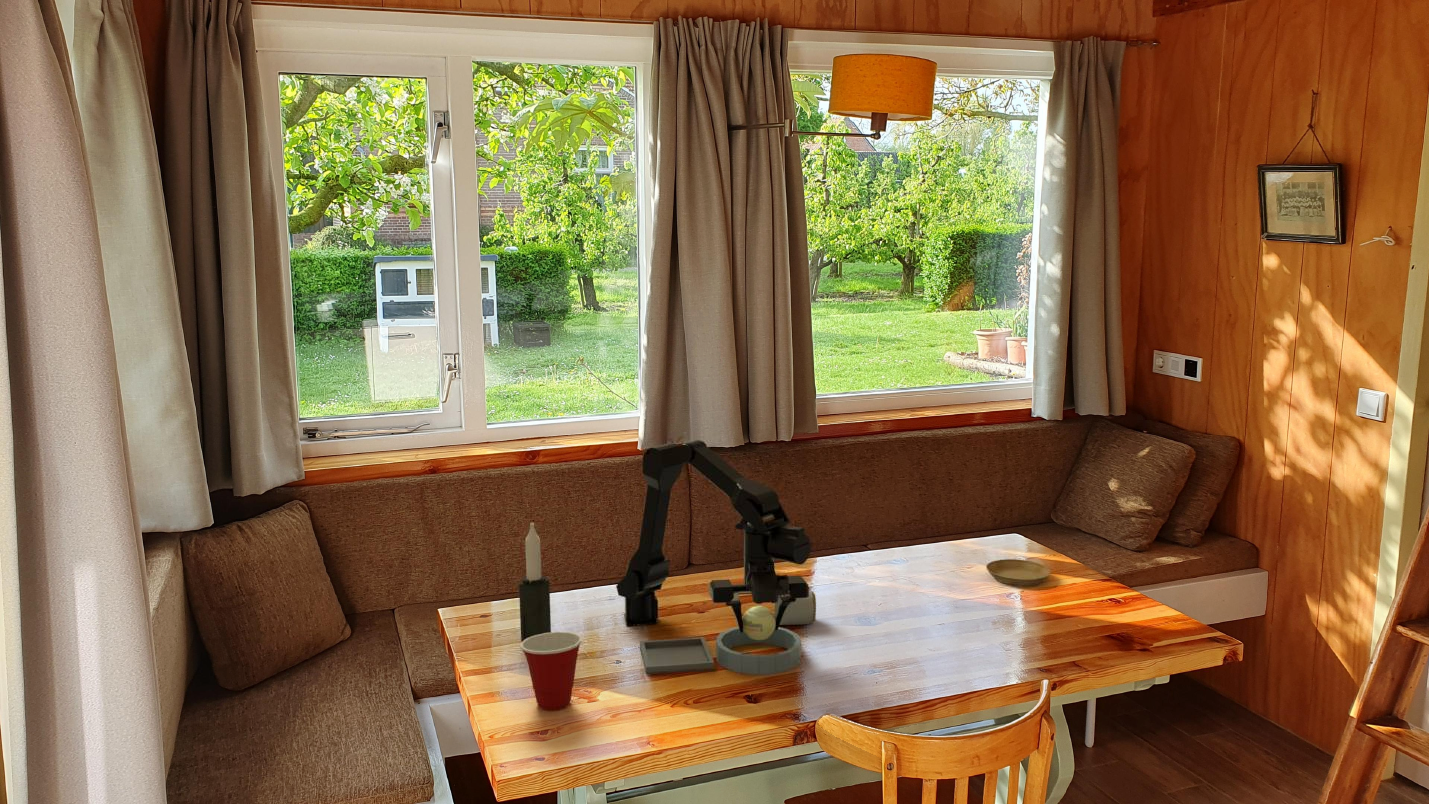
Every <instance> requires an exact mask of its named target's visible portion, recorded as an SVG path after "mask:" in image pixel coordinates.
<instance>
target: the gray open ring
mask: <svg viewBox="0 0 1429 804" xmlns="http://www.w3.org/2000/svg"><path fill="white" fill-rule="evenodd" d="M746 644H747V645H748V644H769V645H775V646H778V647H782V648H785V649H787V650H785V651H780V652H777V653H776V652H775V653H770V654H769V653H768V654H752V653H751V654H750V653H742V652H738V651H735V650H732V649H731V648H733V647H738V646H742V645H746ZM715 658H716V660H717V663H718V664H719V665H720V666H722V667H724V668H725V669H726V670H729V671H733V672H735V673H736V672H737V673H739V674H748V675H756V676H761V675H764V676H765V675H775V674H780V673H783V672H787V671H791V670H792V669H793V668H795V667H797V666H799V664H800V662H801V659H802V639H801V637H800V635H799V634H797V633H796V632H794V631H792V630H790V629H788V628H785V627H780V626H779V627H778V630H777V631H775V629H774V631H773V633H772V634H771V635H770V636H769V637H768V638H767V639H764V640H754V639H751V638H750V637H749V636H748V635H747V634H746V633H745V632H744V630H743V633H741V632H740V630H739V627H738V626H735V627H730V628H728V629H726V630H724V631H722V632H720V633H719V634H718V635H717V637H716V638H715Z"/></svg>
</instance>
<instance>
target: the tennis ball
mask: <svg viewBox="0 0 1429 804" xmlns="http://www.w3.org/2000/svg"><path fill="white" fill-rule="evenodd" d="M742 621H743V630H744V632H745V633H746V634H747V635H748V636H749V637H750V638H751V639H754V640H764V639H767V638H768V637H769V636H770V635H771V634H772V633H773V631H774V629H775V625H776V621H775V618H774V612H772V610H770V608H767V607H765V606H763V605H755V606H752V607H750V608H748V609H747V610H746V611H745V612H744V614H743V615H742Z"/></svg>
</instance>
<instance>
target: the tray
mask: <svg viewBox="0 0 1429 804" xmlns="http://www.w3.org/2000/svg"><path fill="white" fill-rule="evenodd" d="M707 643H708V642H707V640H706V639H705V636H702V637H701V636H700V637H685V638H669V639H656V640H652V639H651V640H639V650H640V654H641V659H642V664H643V667H645V668H644V671H645V674H646V676H647V674H650V675H659V674H660V675H661V674H662V675H663V674H675V673H677V674H678V673H686V672H687V673H688V672H689V673H690V672H703V671H706V672H707V671H714V670H715V661H714V658H713V655H712V653H711V650H710V648H709V646H708V644H707Z"/></svg>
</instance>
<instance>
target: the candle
mask: <svg viewBox="0 0 1429 804" xmlns="http://www.w3.org/2000/svg"><path fill="white" fill-rule="evenodd" d="M529 526H530V527H529V530H528V531H529V532H528V534H527V536H526V537H525V540H524V541H525V542H524V543H525V545H524V546H525V564H526V565H525V568H526V575H525V576H523V577H522V580H521V581H520V582H519V583H518V594H519V595H518V598H519V618H520V643H521V642H523V641H524V640H525V639H527V638H529V637H532V636H535V635H539V634H544V633H551V632H552V622H551V620H552V619H551V617H552V616H551V592H550V578H547V577H546V576H545V575H543V574H542V558H541V538H540V537H539V535H538V533H537V530H536V528H535V523H534V522H530V524H529Z"/></svg>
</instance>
